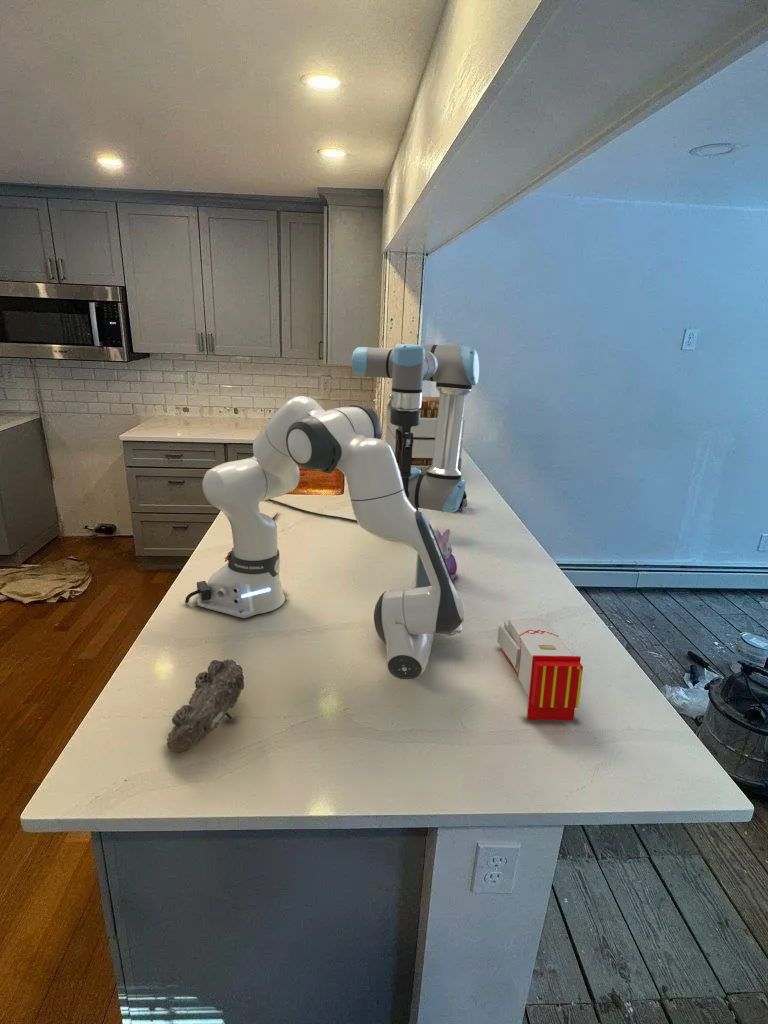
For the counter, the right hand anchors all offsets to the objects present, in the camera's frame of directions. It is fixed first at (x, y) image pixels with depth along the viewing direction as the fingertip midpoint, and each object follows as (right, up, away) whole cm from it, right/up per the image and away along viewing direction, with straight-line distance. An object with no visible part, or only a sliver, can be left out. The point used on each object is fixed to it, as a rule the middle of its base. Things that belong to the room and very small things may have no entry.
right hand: (400, 497), depth 149 cm
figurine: (+13, -23, +20) cm, 33 cm away
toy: (+28, -40, -25) cm, 55 cm away
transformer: (+13, +15, +126) cm, 127 cm away
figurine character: (+25, -2, +80) cm, 84 cm away
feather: (-44, -6, +62) cm, 76 cm away
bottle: (+5, -32, -6) cm, 33 cm away
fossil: (-37, -43, -41) cm, 70 cm away
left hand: (+5, -26, -7) cm, 28 cm away
